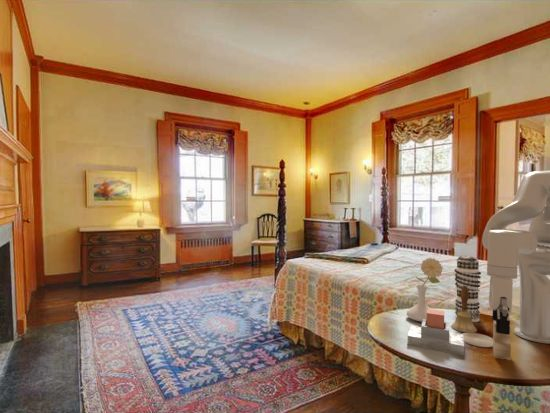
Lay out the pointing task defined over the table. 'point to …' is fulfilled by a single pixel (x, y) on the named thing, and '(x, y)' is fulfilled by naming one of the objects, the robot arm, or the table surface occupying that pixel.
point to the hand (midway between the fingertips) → (500, 328)
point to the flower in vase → (432, 270)
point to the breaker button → (435, 318)
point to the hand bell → (464, 315)
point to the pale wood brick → (501, 344)
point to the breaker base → (436, 338)
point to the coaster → (478, 339)
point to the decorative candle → (468, 285)
